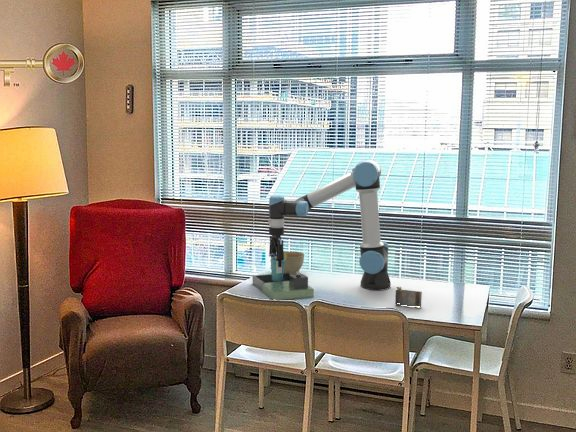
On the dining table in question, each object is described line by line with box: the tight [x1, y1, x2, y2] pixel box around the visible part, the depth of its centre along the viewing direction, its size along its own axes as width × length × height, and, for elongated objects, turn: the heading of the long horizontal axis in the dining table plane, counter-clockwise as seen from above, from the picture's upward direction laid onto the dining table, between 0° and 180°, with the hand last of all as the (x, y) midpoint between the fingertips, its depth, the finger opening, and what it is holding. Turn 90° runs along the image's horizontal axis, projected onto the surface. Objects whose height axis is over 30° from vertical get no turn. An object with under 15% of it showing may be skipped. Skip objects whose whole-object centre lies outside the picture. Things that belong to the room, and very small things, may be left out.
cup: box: [268, 251, 287, 281], centre depth 325 cm, size 14×8×15 cm, turn 148°
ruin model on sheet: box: [394, 286, 423, 308], centre depth 292 cm, size 11×3×10 cm, turn 68°
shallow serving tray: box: [252, 270, 315, 300], centre depth 319 cm, size 33×20×11 cm, turn 21°
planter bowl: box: [275, 251, 305, 275], centre depth 354 cm, size 16×16×11 cm
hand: (276, 271), depth 326 cm, fingers closed on cup, 8 cm apart
